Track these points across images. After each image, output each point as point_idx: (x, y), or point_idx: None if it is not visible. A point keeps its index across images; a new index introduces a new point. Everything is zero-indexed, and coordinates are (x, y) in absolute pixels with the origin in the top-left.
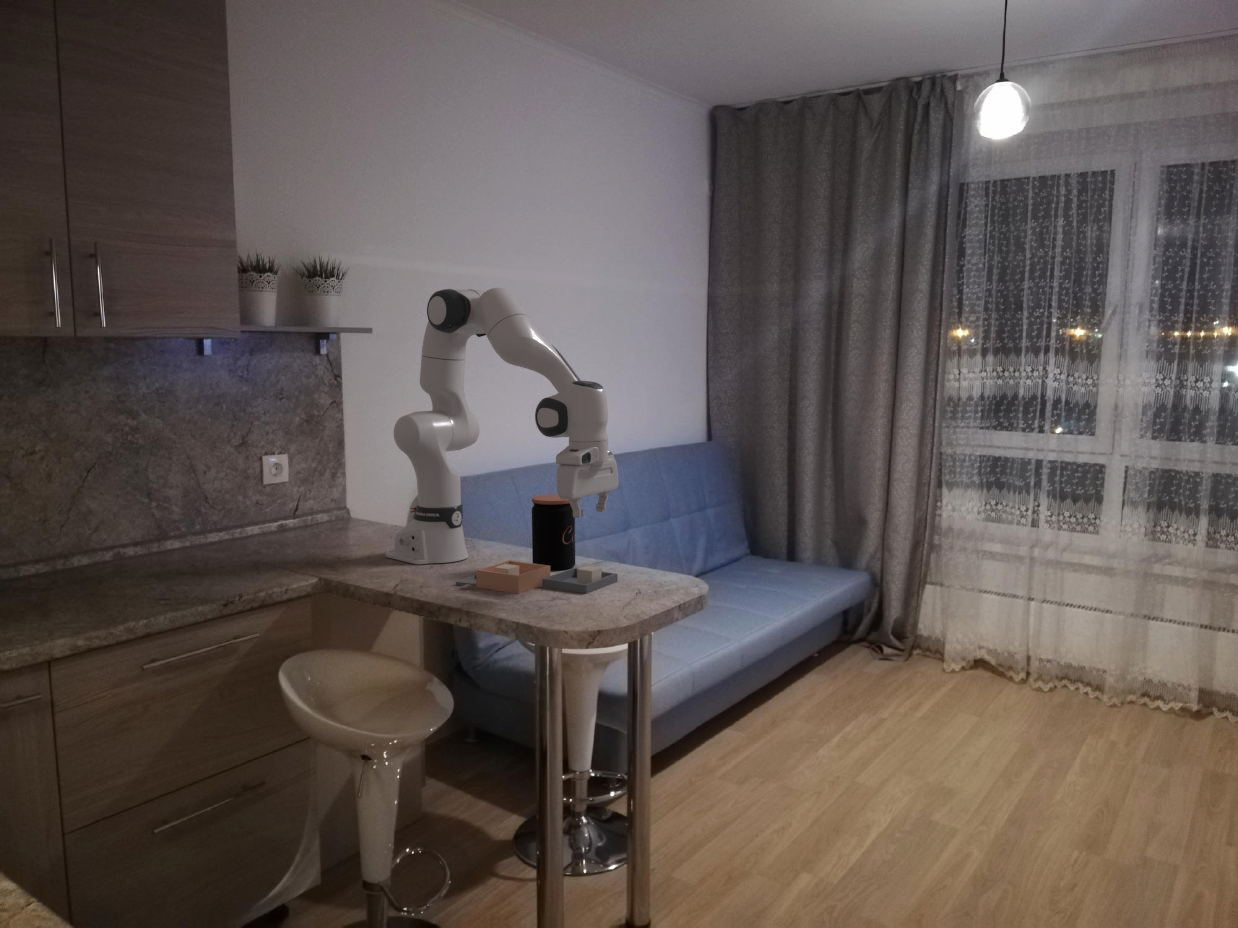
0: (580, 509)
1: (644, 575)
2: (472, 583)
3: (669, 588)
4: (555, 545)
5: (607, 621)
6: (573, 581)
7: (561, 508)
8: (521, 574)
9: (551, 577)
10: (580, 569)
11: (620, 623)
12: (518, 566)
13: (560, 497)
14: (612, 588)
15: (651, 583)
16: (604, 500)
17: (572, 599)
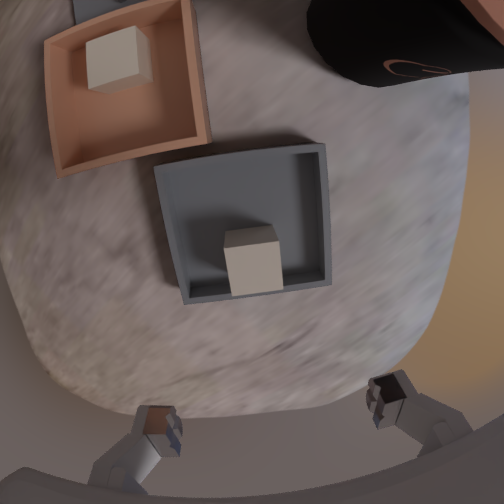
0: (155, 458)
1: (418, 265)
2: (76, 23)
3: (345, 361)
4: (354, 47)
5: (112, 394)
6: (260, 186)
7: (467, 27)
8: (73, 168)
9: (189, 167)
10: (226, 259)
11: (122, 407)
12: (135, 74)
13: (21, 473)
14: None
15: (365, 318)
16: (411, 431)
17: (148, 283)
